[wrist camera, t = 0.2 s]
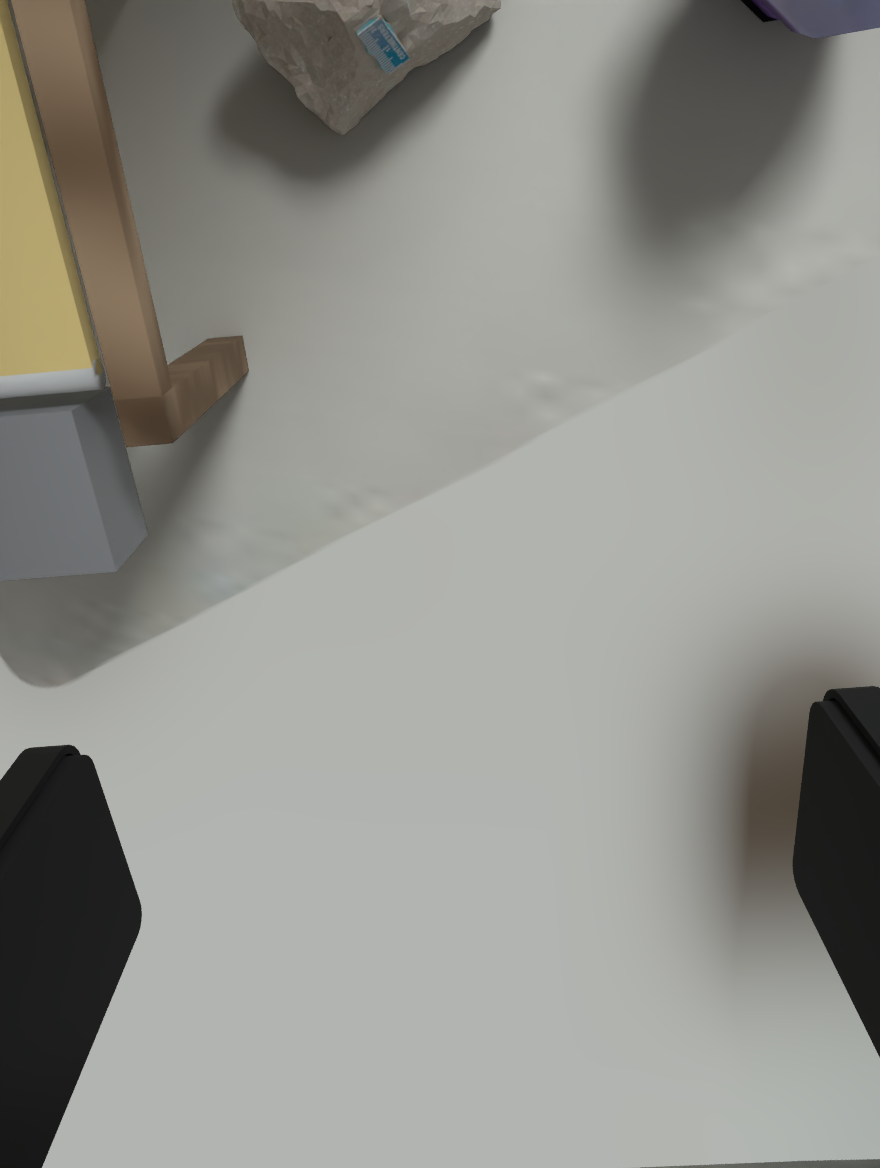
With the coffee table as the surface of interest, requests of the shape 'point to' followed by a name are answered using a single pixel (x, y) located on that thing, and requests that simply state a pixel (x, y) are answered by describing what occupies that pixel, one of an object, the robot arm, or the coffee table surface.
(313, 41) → the concrete fragment
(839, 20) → the potion bottle
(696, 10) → the coffee table surface
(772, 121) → the coffee table surface
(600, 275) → the coffee table surface
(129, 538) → the trapdoor
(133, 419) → the frame
